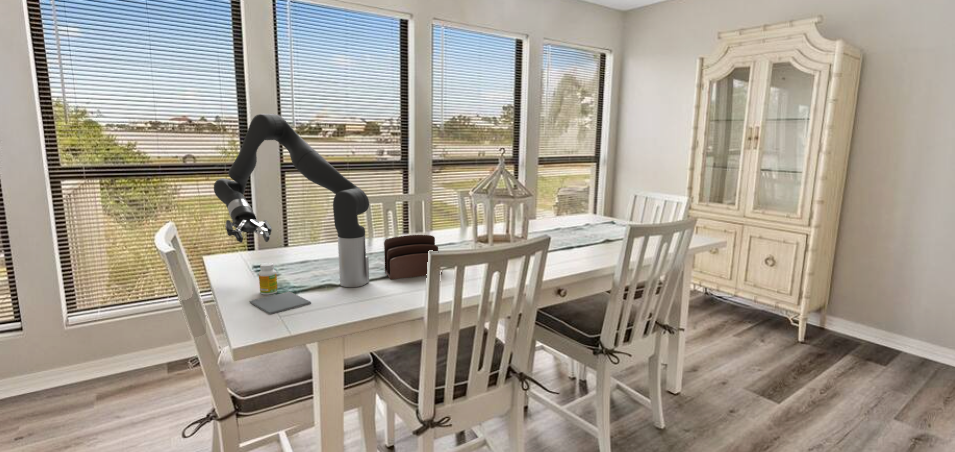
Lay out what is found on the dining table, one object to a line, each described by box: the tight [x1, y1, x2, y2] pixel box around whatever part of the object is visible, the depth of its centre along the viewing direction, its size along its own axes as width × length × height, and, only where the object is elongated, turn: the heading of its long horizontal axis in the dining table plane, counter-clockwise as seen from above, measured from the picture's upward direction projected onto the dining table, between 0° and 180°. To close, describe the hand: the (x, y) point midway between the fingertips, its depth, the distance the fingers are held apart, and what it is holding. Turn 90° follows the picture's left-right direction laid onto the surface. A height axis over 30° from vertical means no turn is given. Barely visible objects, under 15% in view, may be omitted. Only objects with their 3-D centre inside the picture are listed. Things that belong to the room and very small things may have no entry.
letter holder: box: [383, 234, 443, 280], centre depth 189 cm, size 10×20×14 cm, turn 112°
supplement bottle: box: [258, 262, 278, 296], centre depth 166 cm, size 5×5×10 cm
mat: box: [249, 291, 312, 315], centre depth 157 cm, size 13×14×1 cm
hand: (254, 240), depth 171 cm, fingers open, 8 cm apart
